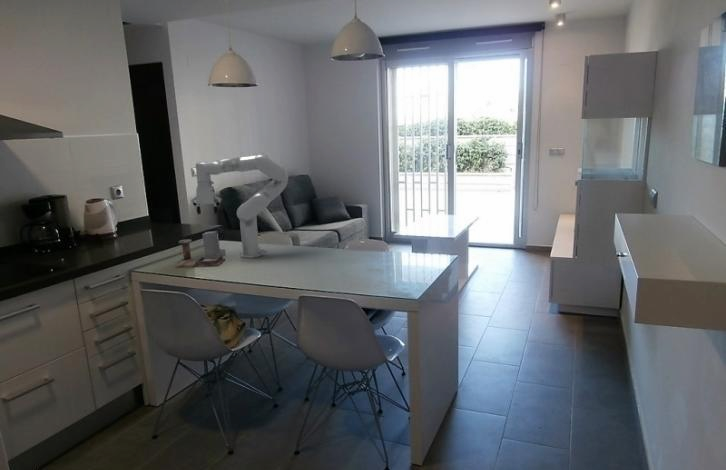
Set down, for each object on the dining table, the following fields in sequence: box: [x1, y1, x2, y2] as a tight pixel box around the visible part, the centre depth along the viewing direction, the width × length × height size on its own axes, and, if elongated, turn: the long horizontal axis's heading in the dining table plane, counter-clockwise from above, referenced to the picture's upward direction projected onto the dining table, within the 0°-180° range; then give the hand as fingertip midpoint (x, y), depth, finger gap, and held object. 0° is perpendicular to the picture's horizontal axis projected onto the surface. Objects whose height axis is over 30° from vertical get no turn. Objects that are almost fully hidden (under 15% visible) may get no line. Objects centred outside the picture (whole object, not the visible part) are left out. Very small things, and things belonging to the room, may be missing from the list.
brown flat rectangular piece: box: [175, 255, 226, 269], centre depth 278 cm, size 24×12×3 cm, turn 88°
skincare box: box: [202, 230, 222, 259], centre depth 289 cm, size 8×7×16 cm
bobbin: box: [178, 238, 195, 262], centre depth 287 cm, size 7×7×12 cm
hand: (207, 213), depth 285 cm, fingers open, 9 cm apart
